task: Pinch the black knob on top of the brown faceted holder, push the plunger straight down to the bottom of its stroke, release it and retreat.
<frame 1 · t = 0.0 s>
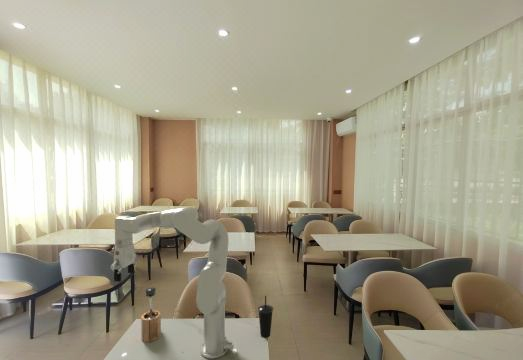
hand: (124, 276, 126), 31 cm above the table, fingers open, 9 cm apart
brown faceted holder: (151, 336, 129), on the table
drinking cup: (265, 335, 131), on the table
plunger: (150, 304, 129), point 16 cm above the table, slide at 0.0 cm
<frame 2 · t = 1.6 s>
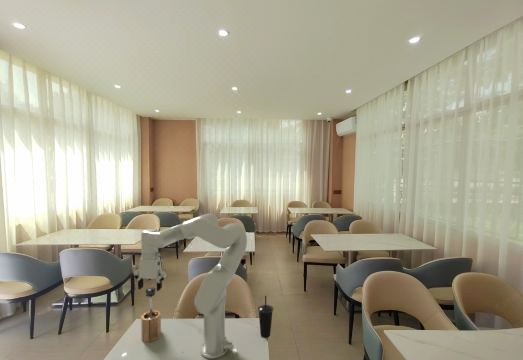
hand: (149, 289, 128), 24 cm above the table, fingers open, 9 cm apart
nothing on the table moved.
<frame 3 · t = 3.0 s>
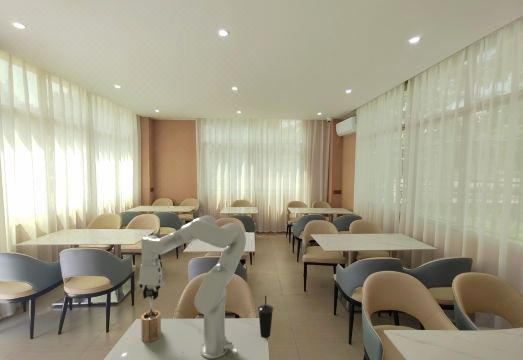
hand: (150, 297, 129), 20 cm above the table, fingers closed on plunger, 4 cm apart
plunger: (150, 304, 129), point 16 cm above the table, slide at 0.0 cm, touching gripper
everything else where it was.
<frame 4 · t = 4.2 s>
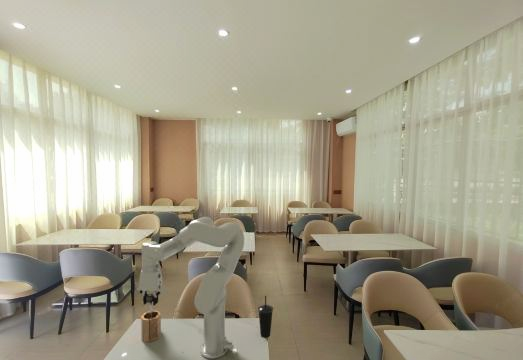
hand: (150, 303, 129), 17 cm above the table, fingers closed on plunger, 4 cm apart
plunger: (150, 310, 129), point 13 cm above the table, slide at 3.0 cm, touching gripper
everything else where it was.
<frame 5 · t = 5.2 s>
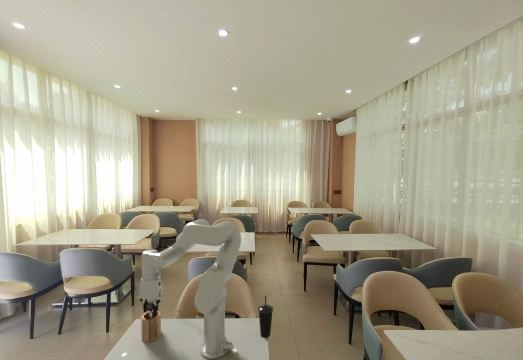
hand: (150, 311, 129), 13 cm above the table, fingers closed on plunger, 4 cm apart
plunger: (151, 318, 129), point 9 cm above the table, slide at 7.1 cm, touching gripper
everything else where it was.
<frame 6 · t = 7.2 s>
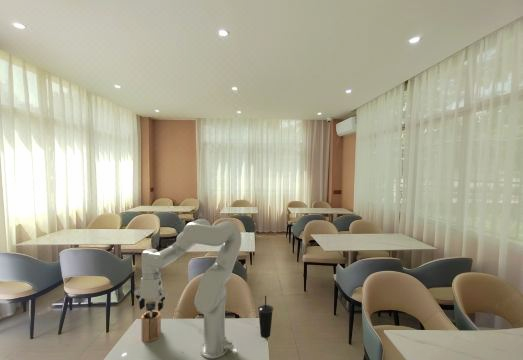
hand: (151, 308, 129), 14 cm above the table, fingers open, 9 cm apart
plunger: (151, 318, 129), point 9 cm above the table, slide at 7.1 cm
everything else where it was.
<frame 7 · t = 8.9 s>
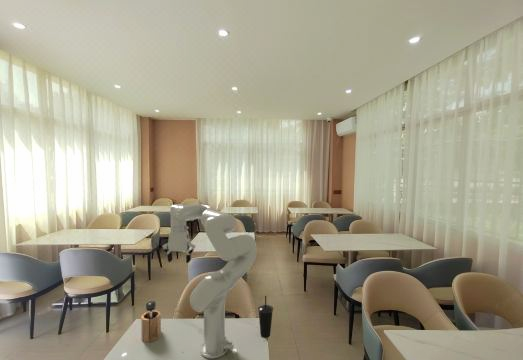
hand: (179, 261, 134), 36 cm above the table, fingers open, 9 cm apart
nothing on the table moved.
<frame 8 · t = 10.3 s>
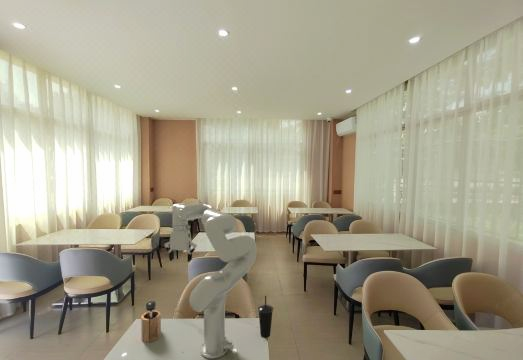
hand: (180, 260, 134), 36 cm above the table, fingers open, 9 cm apart
nothing on the table moved.
at the end: plunger slide at 7.1 cm; the gripper is holding nothing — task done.
